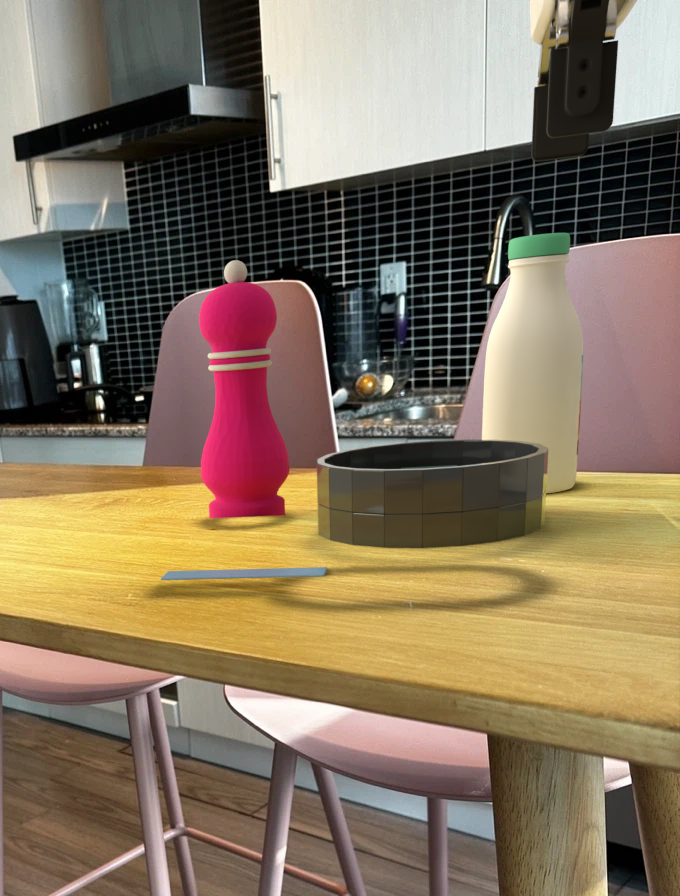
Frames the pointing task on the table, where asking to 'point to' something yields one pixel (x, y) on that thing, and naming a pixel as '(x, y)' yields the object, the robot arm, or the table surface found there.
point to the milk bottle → (537, 358)
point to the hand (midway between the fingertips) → (568, 147)
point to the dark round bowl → (432, 493)
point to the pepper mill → (241, 402)
